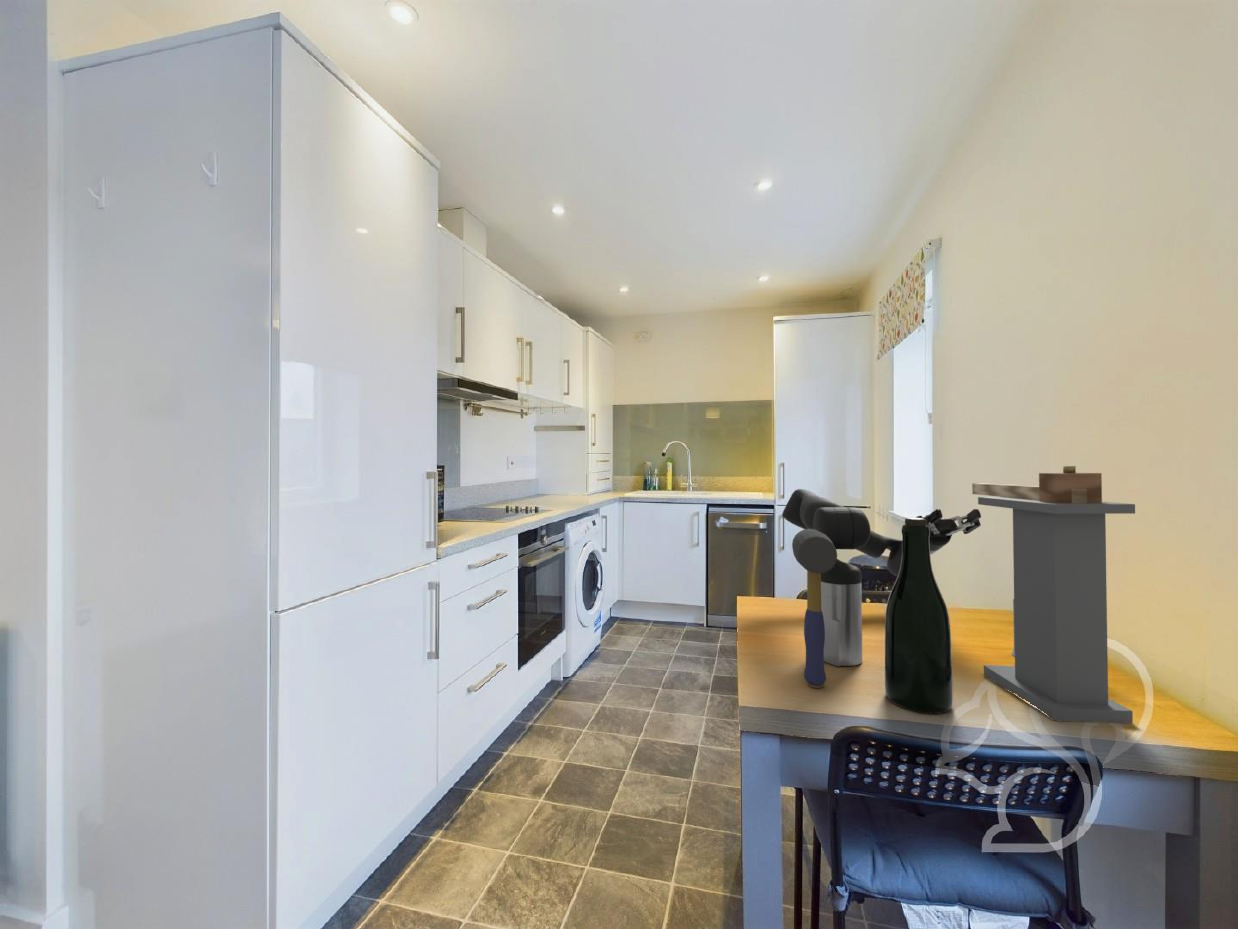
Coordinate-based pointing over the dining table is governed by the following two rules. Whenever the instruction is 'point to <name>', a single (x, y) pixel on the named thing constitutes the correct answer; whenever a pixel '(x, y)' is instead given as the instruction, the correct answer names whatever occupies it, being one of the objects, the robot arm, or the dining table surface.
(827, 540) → the rubber mallet
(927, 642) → the dark green wine bottle
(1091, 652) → the plinth
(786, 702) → the dining table surface
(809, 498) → the robot arm
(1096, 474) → the marking gauge
